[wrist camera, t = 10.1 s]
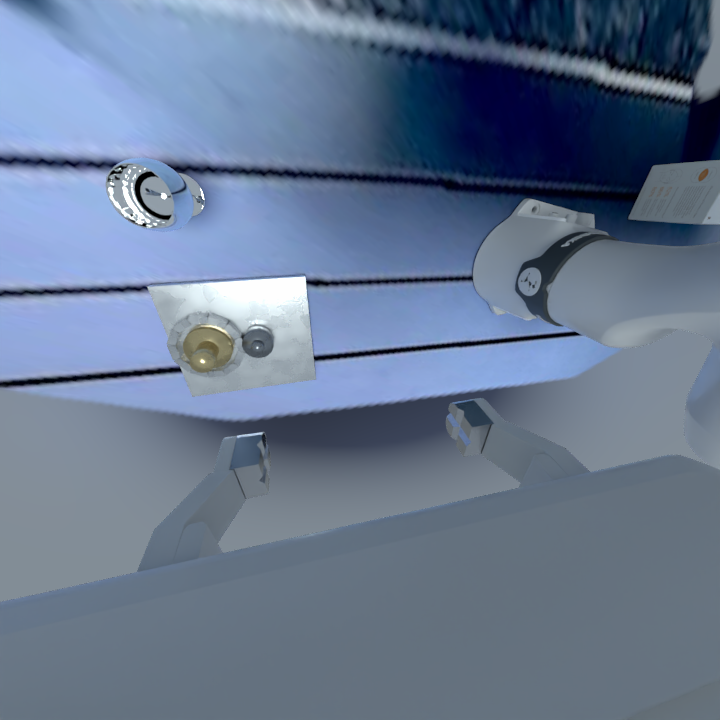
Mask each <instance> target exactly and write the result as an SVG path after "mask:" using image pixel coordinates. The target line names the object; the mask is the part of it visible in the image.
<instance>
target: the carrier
mask: <svg viewBox="0 0 720 720" xmlns="http://www.w3.org/2000/svg"><path fill="white" fill-rule="evenodd" d="M148 290H149V292H150V295H151V297H152V300H153V302H154V304H155V307H156V309H157V312H158V314H159V317H160V319H161V321H162V324H163V326H164V329H165V331H166V334H167V336H168V342H167V344H168V345H167V347H168V349H169V351H170V354H171V356H172V359H173V360H175V361H174V362H176V363H177V364H178V365H179V366H180V368H181V370H182V373H183V375H184V377H185V380H186V382H187V385H188V387H189V390H190V392H191V394H192V397H194V396H201V395H208V394H215V393H222V392H230V391H237V390H244V389H251V388H258V387H265V386H272V385H279V384H286V383H293V382H301V381H308V380H315V379H316V376H315V366H314V356H313V347H312V337H311V328H310V318H309V309H308V299H307V289H306V280H305V275H292V276H276V277H260V278H244V279H228V280H212V281H196V282H180V283H164V284H151V285H149V286H148ZM200 325H214V326H217V327H220V328H222V329H223V330H225V331H226V332H227V333H228V334H229V335H230V336H231V338H232V340H233V343H234V350H233V353H232V356H231V359H230V360H229V361H228V362H227V363H226V364H225V365H223V366H221V367H218V368H212V370H211V371H209V372H206V373H200V372H197V371H195V370H193V369H192V368H191V366H190V360H189V359H188V358H187V357H186V355H185V354H184V351H183V342H184V339H185V338H186V336H187V335H188V333H189V332H190V331H191V330H192V329H193V328H195V327H197V326H200Z"/></svg>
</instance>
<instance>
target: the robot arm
mask: <svg viewBox="0 0 720 720" xmlns="http://www.w3.org/2000/svg"><path fill="white" fill-rule="evenodd" d="M532 209H533V211H532ZM473 282H474V286H475V289H476V291H477V293H478V294H479V295H480V296H481V297H482V298H483V299H484V300H486V301H487V302H488V303H489V306H490V309H491V311H492V313H494V314H496V315H502V314H505V313H510V314H512V315H515V316H517V317H519V318H522V319H524V320H531V319H536V318H539V319H540V320H542V321H544V322H547V323H550V324H553V325H556V326H565V327H567V328H569V329H571V330H573V331H575V332H577V333H580V334H582V335H584V336H586V337H588V338H590V339H592V340H594V341H596V342H599V343H601V344H603V345H605V346H608V347H613V348H633V347H640V346H644V345H647V344H651V343H653V342H656V341H658V340H660V339H662V338H664V337H666V336H668V335H669V334H671V333H673V332H675V331H676V330H684V331H689V332H693V333H696V334H699V335H702V336H704V337H706V338H708V339H709V340H710V341H711V342H713V345H712V349H711V351H710V353H709V355H708V357H707V359H706V361H705V363H704V365H703V366H702V368H701V370H700V372H699V374H698V376H697V378H696V380H695V382H694V384H693V386H692V388H691V390H690V391H689V393H688V396H687V399H686V407H685V417H684V436H685V439H686V441H687V443H688V445H689V446H690V448H691V449H692V450H693V452H694V453H695V454H696V455H697V456H698V457H699V458H701V459H702V460H703V461H704V462H705V463H707V464H708V465H707V464H704V463H701V462H699V461H696V460H693V459H690V458H687V457H684V456H681V455H667V456H661V457H657V458H652V459H647V460H643V461H639V462H634V463H630V464H625V465H620V466H616V467H611V468H607V469H602V470H598V471H594V472H590V471H589V470H588V469H587V468H586V467H585V466H583V464H582V463H581V462H579V461H578V460H577V459H576V458H575V457H574V456H573V455H572V454H571V453H570V452H569V451H568V450H567V449H566V448H564V447H562V446H560V445H557V444H555V443H553V442H551V441H549V440H547V439H545V438H543V437H540V436H538V435H536V434H534V433H532V432H530V431H528V430H525V429H523V428H521V427H519V426H517V425H515V424H513V423H511V422H505V421H504V420H503V419H502V418H501V416H499V414H498V413H497V412H496V411H495V410H494V409H493V408H492V407H491V406H490V404H489V403H488V402H487V401H486V400H485V399H483V398H478V399H472V400H466V401H460V402H454V403H451V404H450V405H449V411H450V414H449V415H448V416H447V419H446V427H447V430H448V433H449V435H450V436H451V437H452V438H453V439H455V440H457V442H456V445H457V447H458V449H459V450H460V452H461V453H462V455H463V456H464V457H465V456H471V455H477V454H482V456H484V457H485V458H486V459H488V460H489V461H491V462H492V463H494V464H495V465H497V466H498V467H499V468H501V469H502V470H504V471H505V472H506V473H508V474H509V475H510V476H512V477H513V478H515V479H516V480H518V481H519V482H520V483H521V484H520V486H519V488H516V489H511V490H507V491H502V492H498V493H493V494H489V495H484V496H480V497H475V498H471V499H466V500H462V501H457V502H453V503H448V504H444V505H439V506H435V507H430V508H425V509H421V510H416V511H412V512H408V513H403V514H399V515H394V516H389V517H385V518H380V519H376V520H372V521H367V522H363V523H358V524H353V525H348V526H344V527H339V528H335V529H330V530H326V531H321V532H317V533H313V534H308V535H303V536H299V537H294V538H289V539H285V540H281V541H276V542H271V543H267V544H262V545H258V546H253V547H249V548H244V549H240V550H235V551H231V552H226V553H223V552H222V550H221V548H220V547H219V545H218V542H219V541H220V539H221V537H222V536H223V534H224V533H225V531H226V530H227V528H228V527H229V525H230V524H231V522H232V521H233V519H234V518H235V516H236V515H237V513H238V512H239V510H240V509H241V507H242V505H243V504H244V502H245V499H249V498H253V497H258V496H262V495H267V494H268V491H269V475H268V471H269V470H270V466H271V457H270V450H269V446H268V445H266V436H265V433H264V432H261V433H253V434H246V435H238V436H233V437H225V438H224V439H223V441H222V443H221V447H220V451H219V454H218V458H217V461H216V465H215V469H214V472H213V473H210V474H208V475H207V476H206V477H205V478H204V480H202V481H201V483H199V484H198V485H197V487H196V488H195V489H194V490H193V491H192V492H191V493H190V494H189V495H188V496H187V497H186V498H185V499H184V500H183V501H182V502H181V503H180V504H179V505H178V506H177V507H176V508H175V509H174V510H173V511H172V512H171V513H170V514H169V515H168V516H167V517H166V518H165V519H164V520H163V521H162V522H161V523H160V524H159V525H158V526H157V527H156V528H155V529H154V531H153V534H152V536H151V538H150V541H149V543H148V546H147V548H146V551H145V554H144V556H143V558H142V561H141V563H140V565H139V568H138V570H137V572H135V573H130V574H126V575H122V576H117V577H112V578H108V579H103V580H99V581H94V582H90V583H85V584H81V585H76V586H72V587H67V588H62V589H58V590H53V591H49V592H45V593H40V594H35V595H31V596H26V597H21V598H17V599H11V600H7V601H2V602H0V720H720V242H715V243H710V244H704V245H696V246H663V245H650V244H639V243H630V242H622V241H619V240H618V239H616V238H615V237H612V236H609V235H608V233H607V232H605V231H601V230H597V229H595V220H594V215H593V214H588V213H580V212H576V211H573V210H569V209H565V208H562V207H558V206H555V205H551V204H548V203H544V202H541V201H537V200H534V199H529V198H527V199H524V200H523V201H522V202H521V203H520V204H519V205H518V207H517V208H516V209H515V211H514V212H513V213H512V215H511V216H510V217H509V218H508V219H506V220H505V221H504V222H502V223H501V224H500V225H498V226H497V227H496V228H495V229H494V230H493V231H492V232H491V233H490V234H489V235H488V236H487V238H486V239H485V241H484V242H483V244H482V245H481V247H480V249H479V251H478V253H477V256H476V259H475V263H474V267H473Z"/></svg>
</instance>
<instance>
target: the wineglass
mask: <svg viewBox="0 0 720 720" xmlns="http://www.w3.org/2000/svg"><path fill="white" fill-rule="evenodd" d="M106 191H107V194H108V197H109V200H110V202H111V203H112V205H113V206H114V208H115V209H116V210H117V212H118V213H119V214H120V215H121V216H123V217H124V218H125V219H126V220H128V221H129V222H131V223H133V224H135V225H137V226H140V227H142V228H145V229H148V230H153V231H159V232H167V231H174V230H177V229H180V228H182V227H183V226H185V225H186V224H187V223H188V221H189V220H190V219H191V217H193V216H197V215H198V214H200V213H201V212H202V211H203V209H204V206H205V196H204V193H203V190H202V188H201V187H200V186H199V184H198V183H197V182H196V181H195V180H194V179H193V178H191V177H190V176H188V175H185V174H182V173H177V172H176V171H175V170H173V169H172V168H171V167H169V166H168V165H166V164H164V163H162V162H160V161H157V160H153V159H150V158H132V159H128V160H125V161H123V162H120V163H119V164H117V165H116V166H114V167H113V168H112V169H111V170H110V172H109V174H108V176H107V178H106Z"/></svg>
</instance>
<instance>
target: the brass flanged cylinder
mask: <svg viewBox="0 0 720 720" xmlns="http://www.w3.org/2000/svg"><path fill="white" fill-rule="evenodd" d="M233 350H234V343H233V340H232V338H231V336H230V335H229V334H228V333H227V332H226V331H225V330H223V329H222V328H220V327H217V326H214V325H200V326H197V327H195V328H193V329H192V330H191V331H190V332H189V333H188V335H187V336H186V338H185V339H184V342H183V351H184V354H185V355H186V357H187V358H188V359H189V360H190V366H191V368H192V369H193V370H195V371H197V372H200V373H206V372H209V371H211V370H212V368H218V367H221V366H223V365H225V364H226V363H227V362H228V361H229V360H230V359H231V356H232V353H233Z"/></svg>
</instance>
